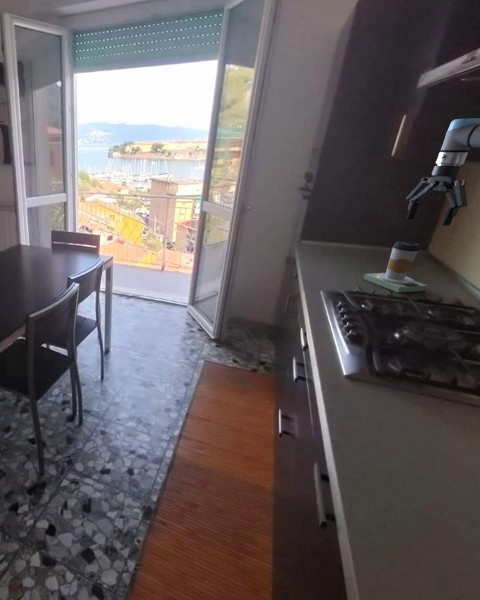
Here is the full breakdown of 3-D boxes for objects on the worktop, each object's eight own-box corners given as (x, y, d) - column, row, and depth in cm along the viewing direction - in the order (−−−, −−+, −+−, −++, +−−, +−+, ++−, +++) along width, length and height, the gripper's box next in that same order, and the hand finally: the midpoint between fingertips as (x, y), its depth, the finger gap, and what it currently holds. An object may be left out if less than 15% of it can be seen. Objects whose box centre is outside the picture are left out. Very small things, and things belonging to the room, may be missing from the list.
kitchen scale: (424, 290, 147) (427, 283, 145) (397, 292, 145) (400, 285, 144) (388, 277, 161) (391, 270, 160) (363, 278, 159) (365, 272, 158)
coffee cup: (404, 276, 153) (418, 242, 147) (409, 282, 146) (423, 247, 140) (380, 273, 157) (392, 239, 151) (383, 278, 150) (396, 244, 144)
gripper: (406, 163, 143) (388, 216, 152) (480, 166, 121) (454, 228, 129) (422, 163, 144) (403, 216, 153) (497, 166, 122) (471, 228, 130)
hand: (426, 222), depth 141 cm, fingers open, 13 cm apart
